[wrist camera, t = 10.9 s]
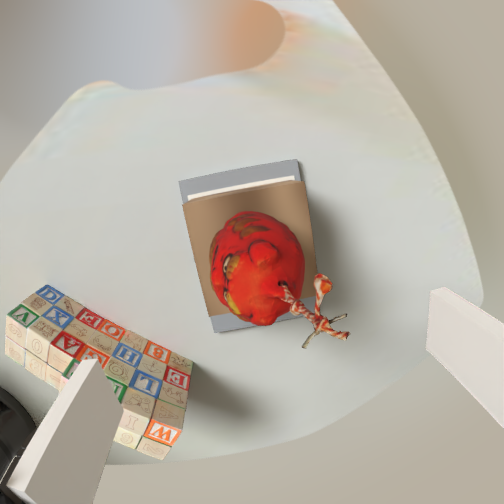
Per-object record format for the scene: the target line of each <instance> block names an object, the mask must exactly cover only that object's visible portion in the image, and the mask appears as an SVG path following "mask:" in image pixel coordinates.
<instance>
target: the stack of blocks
mask: <svg viewBox="0 0 504 504" xmlns="http://www.w3.org/2000/svg"><path fill="white" fill-rule="evenodd" d="M5 334H6V341H5V354H6V355H7V356H8V357H10V358H11V359H12V360H14V361H15V362H17V363H18V364H19V365H21V366H23V367H24V368H25V369H26V370H28V371H29V372H30V373H32V374H34V375H35V376H37V377H38V378H40V379H41V380H43V381H45V382H46V383H47V384H49V385H51V386H52V387H54V388H56V389H58V390H59V394H60V393H61V391H62V389H63V388H64V386H65V385H66V383H67V382H68V380H69V379H70V377H71V376H72V374H73V373H74V371H75V370H76V368H77V367H78V366H79V364H80V363H81V361H82V360H87V359H98V360H99V362H100V364H101V367H102V369H103V371H104V373H105V375H106V377H107V379H108V381H109V383H110V385H111V387H112V389H113V391H114V393H115V395H116V397H117V399H118V400H119V402H120V404H121V406H122V408H123V410H124V412H123V415H122V418H121V421H120V423H119V426H118V429H117V432H116V434H115V437H114V440H113V441H116V442H118V443H120V444H123V445H125V446H127V447H130V448H132V449H136V450H137V451H139V452H141V453H144V454H146V455H149V456H152V457H154V458H157V459H159V460H163V459H164V458H165V456H166V455H167V453H168V452H169V451H170V449H171V447H172V445H173V444H174V443H175V441H176V440H177V438H178V437H179V435H180V433H181V432H182V428H183V422H184V415H185V411H186V404H187V399H188V390H189V383H190V376H191V371H192V366H193V361H191V360H189V359H186V358H184V357H182V356H180V355H177V354H175V353H173V352H171V351H170V350H168V349H166V348H164V347H162V346H159V345H157V344H155V343H153V342H151V341H149V340H147V339H145V338H143V337H141V336H139V335H137V334H135V333H133V332H131V331H129V330H125V329H124V328H122V327H120V326H118V325H116V324H114V323H112V322H110V321H108V320H107V319H104V318H102V317H100V316H99V315H97V314H95V313H93V312H91V311H90V310H88V309H86V308H84V306H82V305H80V304H79V303H77V302H75V301H74V300H72V299H70V298H69V297H67V296H65V295H64V294H62V293H60V292H59V291H57V290H55V289H54V288H52V287H51V286H49V285H45V286H44V287H42V288H41V289H39V290H38V291H36V292H35V293H33V294H32V295H31V296H29V297H28V298H26V299H25V300H24V301H22V302H21V304H19V305H18V306H17V307H16V308H14V309H13V310H12V311H11V312H9V313H8V314H7V319H6V333H5Z"/></svg>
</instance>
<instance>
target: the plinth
mask: <svg viewBox="0 0 504 504" xmlns="http://www.w3.org/2000/svg"><path fill="white" fill-rule="evenodd" d="M182 206H183V211H184V215H185V220H186V224H187V229H188V233H189V238H190V242H191V246H192V250H193V255H194V259H195V263H196V267H197V271H198V275H199V279H200V283H201V287H202V291H203V295H204V299H205V303H206V307H207V311H208V314H209V317H210V316H216V315H222V314H227V313H231V312H230V310H229V308H228V307H226V306H225V305H223V304H222V303H221V302H220V301H219V299H218V297H217V295H216V293H215V292H214V291H213V290H212V287H211V282H210V263H209V251H210V245H211V243H212V239H213V238H214V236H215V234H216V233H217V232H218V231H220V230H221V229H223V228H224V225H225V223H226V221H227V220H229V219H231V218H232V217H233V216H234V215H236V214H237V213H239V212H243V211H254V212H261V213H264V214H267V215H270V216H272V217H274V218H275V219H276V220H278V221H280V222H282V223H284V224H285V225H287V226H288V228H289V229H290V230H291V231H292V232H293V233H294V234H295V236H296V238H297V239H298V241H299V243H300V245H301V248H302V250H303V254H304V258H305V273H304V283H303V287H302V293H301V296H300V299H304V298H308V297H313V296H316V290H315V288H314V286H313V285H314V277H315V276H316V275H317V266H316V258H315V250H314V242H313V235H312V228H311V221H310V214H309V208H308V201H307V195H306V189H305V183H304V181H296V180H287V181H282V182H276V183H270V184H264V185H259V186H253V187H248V188H242V189H237V190H232V191H227V192H222V193H217V194H212V195H207V196H202V197H198V198H193V199H191V200H189V201H188V202H186V203H184V204H183V205H182Z"/></svg>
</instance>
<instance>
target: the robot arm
mask: <svg viewBox="0 0 504 504" xmlns="http://www.w3.org/2000/svg"><path fill="white" fill-rule="evenodd" d="M426 350H427V351H429V352H430V353H431V354H432V355H433V356H434V357H435V358H436V359H437V360H438V361H439V362H440V363H441V364H442V365H443V366H444V367H445V368H446V369H447V370H448V371H449V372H450V373H451V374H452V375H453V376H454V377H455V378H456V379H457V380H458V381H459V382H460V383H461V384H462V385H463V386H464V387H465V388H466V389H467V390H468V391H469V392H470V393H471V394H472V396H473V397H474V398H475V399H476V400H477V401H478V402H479V403H480V404H481V405H482V406H483V407H484V408H485V409H486V410H487V411H488V412H489V413H490V415H491V416H492V417H493V418H494V419H495V420H496V421H497V422H498V423H499V424H500V425H501V426H502V427H503V428H504V324H503V323H502V322H500V321H499V320H497V319H495V318H494V317H493V316H491V315H489V314H488V313H486V312H485V311H483V310H482V309H480V308H478V307H477V306H475V305H474V304H472V303H470V302H469V301H467V300H465V299H464V298H462V297H461V296H459V295H457V294H456V293H454V292H452V291H451V290H449V289H447V288H446V287H442V288H439V289H436V290H433V291H430V303H429V318H428V330H427V340H426ZM123 412H124V410H123V408H122V406H121V404H120V402H119V400H118V399H117V397H116V395H115V393H114V391H113V389H112V387H111V385H110V383H109V381H108V379H107V377H106V375H105V373H104V371H103V369H102V367H101V364H100V362H99V360H98V359H87V360H82V361H81V363H80V364H79V366H78V367H77V368H76V370H75V371H74V373H73V374H72V376H71V377H70V379H69V380H68V382H67V383H66V385H65V386H64V388H63V389H62V391H61V393H60V394H59V396H58V397H57V399H56V400H55V402H54V403H53V405H52V407H51V408H50V410H49V411H48V413H47V415H46V416H45V418H44V419H43V421H42V423H41V424H40V426H39V428H36V427H35V424H34V422H33V421H32V419H31V417H30V416H29V414H28V413H27V412H26V410H25V409H24V408H23V407H22V406H21V405H20V404H19V402H18V401H17V400H16V399H14V398H13V397H12V396H11V395H10V394H9V393H8V392H6V391H5V390H4V389H2V388H1V387H0V480H1V479H2V477H3V475H4V473H5V471H6V470H7V468H8V466H9V464H10V462H11V461H12V459H13V458H14V457H15V456H16V455H17V457H15V458H14V460H13V462H12V463H11V465H10V467H9V469H8V471H7V473H6V474H5V476H4V478H3V480H2V482H1V484H0V504H93V500H94V497H95V493H96V490H97V487H98V484H99V481H100V478H101V475H102V472H103V469H104V466H105V463H106V460H107V457H108V454H109V451H110V448H111V446H112V443H113V440H114V437H115V434H116V432H117V429H118V426H119V423H120V421H121V418H122V415H123Z"/></svg>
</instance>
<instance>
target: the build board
mask: <svg viewBox="0 0 504 504" xmlns="http://www.w3.org/2000/svg"><path fill="white" fill-rule="evenodd" d="M287 180H296V181H301V179H300V173H299V167H298V162H297V159H293V160H287V161H281V162H274V163H268V164H262V165H257V166H251V167H246V168H240V169H235V170H230V171H225V172H220V173H215V174H210V175H205V176H200V177H196V178H191V179H187V180H182V181H179V186H180V191H181V196H182V201H183V204H184V203H186V202H188V201H189V200H191V199H193V198H198V197H202V196H207V195H212V194H217V193H222V192H227V191H232V190H237V189H242V188H248V187H253V186H259V185H264V184H270V183H276V182H282V181H287ZM299 300H300V301H302V302H303V304H304V305H305V306H304V307H306V308H307V309H308V310H310V311H311V312H312V313H315V310H314V307H315V300H316V296H313V297H308V298H304V299H299ZM301 316H304V315H303V314H300V315H296V316H294V315H293V314H292V313H291V312H290V311H289V312H287V313H285V314H283V315H281V316H279V317H277V319H276V321H275V322H277V321H282V320H287V319H292V318H296V317H301ZM210 318H211V322H212V326H213V329H214V333H217V332H223V331H229V330H235V329H241V328H246V327H251V326H257V325H255V324H252V323H251V322H245V321H243V320H241V319H239V318H238V317H237V316H236V315H233V314H232V313H227V314H222V315H216V316H210Z"/></svg>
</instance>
